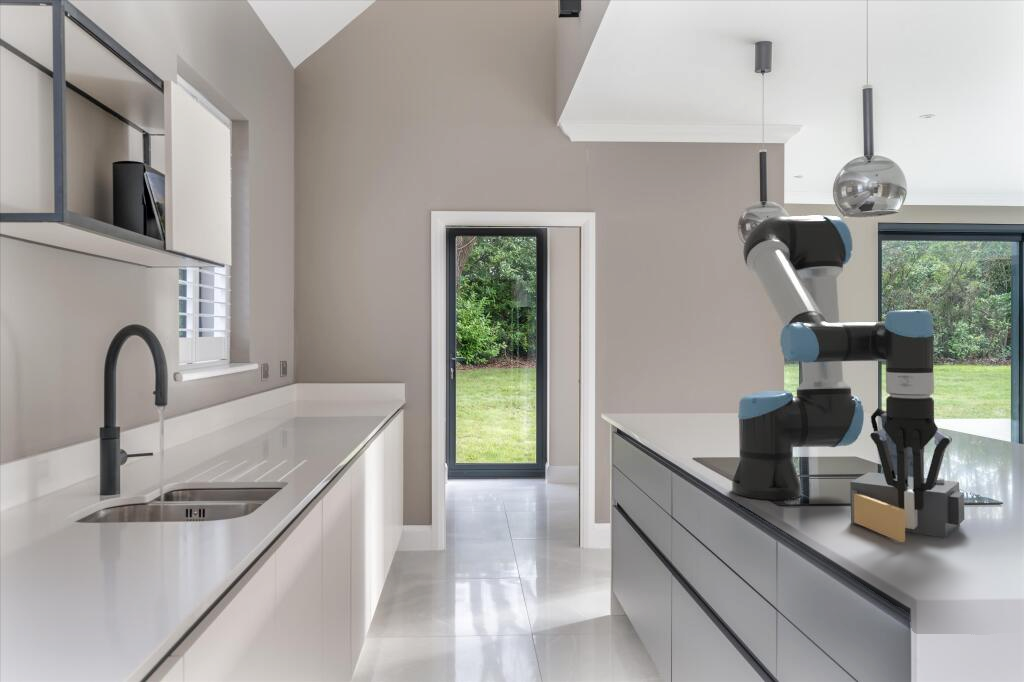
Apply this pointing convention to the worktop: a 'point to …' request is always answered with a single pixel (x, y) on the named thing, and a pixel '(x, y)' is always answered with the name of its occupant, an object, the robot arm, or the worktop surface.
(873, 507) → the side door
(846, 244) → the robot arm
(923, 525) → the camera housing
